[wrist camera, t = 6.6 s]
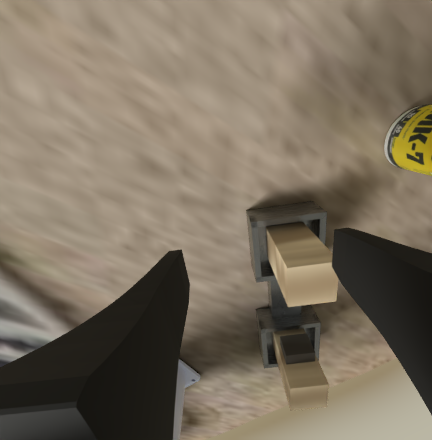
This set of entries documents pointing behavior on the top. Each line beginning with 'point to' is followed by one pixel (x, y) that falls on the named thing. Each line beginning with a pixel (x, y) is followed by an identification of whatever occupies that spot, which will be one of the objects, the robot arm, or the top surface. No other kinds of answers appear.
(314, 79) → the top surface
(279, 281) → the beige wooden block
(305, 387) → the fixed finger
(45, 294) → the top surface
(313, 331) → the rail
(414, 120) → the supplement bottle
